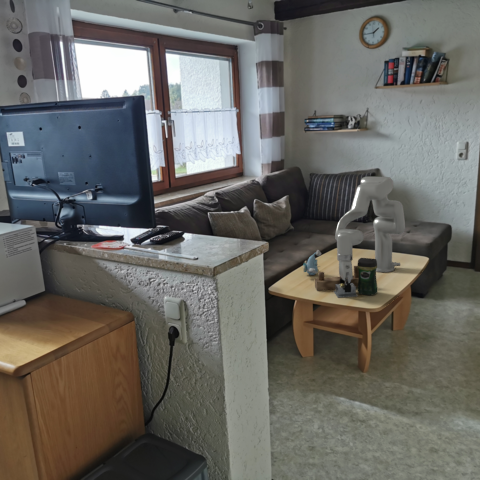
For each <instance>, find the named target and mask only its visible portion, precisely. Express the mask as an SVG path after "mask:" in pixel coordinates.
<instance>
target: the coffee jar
mask: <svg viewBox="0 0 480 480" xmlns="http://www.w3.org/2000/svg"><path fill="white" fill-rule="evenodd" d="M356 266H357V267H358V271H359V280H358V288H357V293H358V294H359V295H363V296H375V295H377V293H378V291H379V290H378V283H377V271H376V269H377V260H376V259H375V258H368V257H360V258H358V260H357V265H356Z"/></svg>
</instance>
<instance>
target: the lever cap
mask: <svg viewBox="0 0 480 480" xmlns="http://www.w3.org/2000/svg"><path fill="white" fill-rule="evenodd" d="M334 291H335V292H336V293H337V295H338V296H339V295H353V294H357V292H356V291H357V288H356V287H355V285H354V284H353V283H351V292H346V293H345V284H344V283H341V284H335V290H334Z"/></svg>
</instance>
